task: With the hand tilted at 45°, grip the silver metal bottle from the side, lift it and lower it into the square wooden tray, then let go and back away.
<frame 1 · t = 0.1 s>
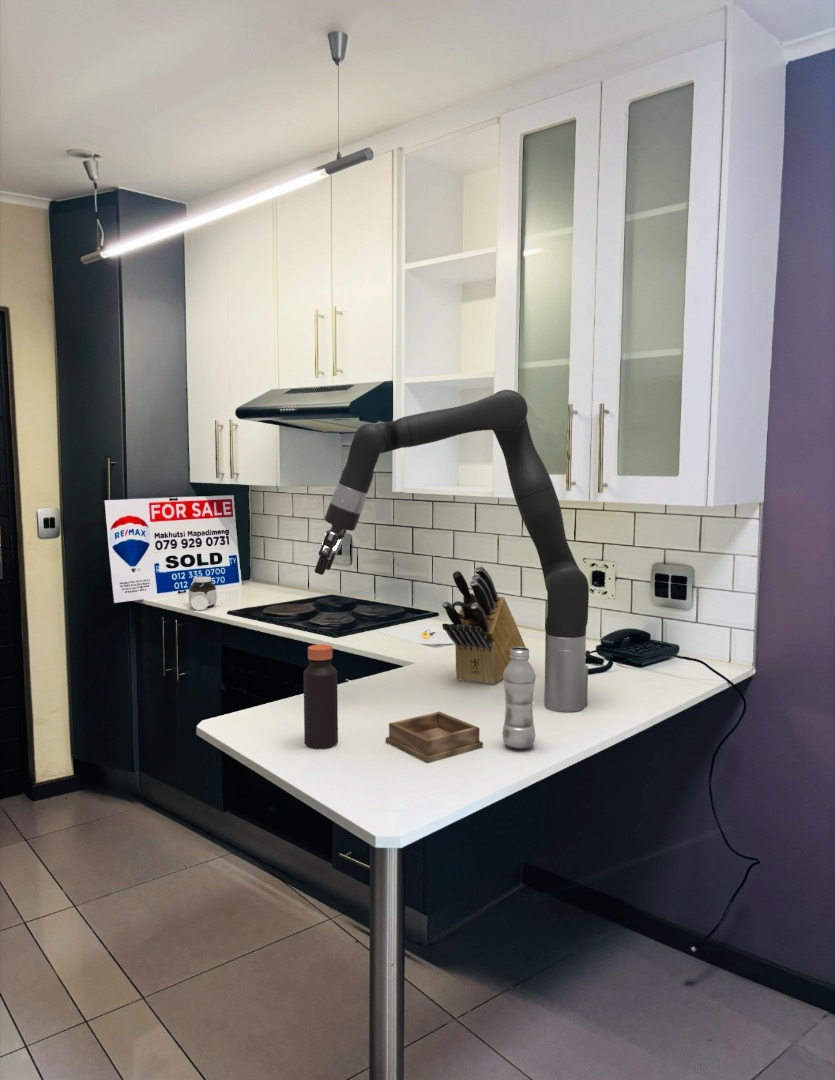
hand: (322, 571, 188), 31 cm above the counter, tool tilted 20°, fingers open, 8 cm apart
spread jar: (202, 608, 312), on the counter
square wooden tray: (433, 744, 163), on the counter
vinegar: (321, 744, 163), on the counter
knife block: (486, 676, 215), on the counter
silver metal bottle: (518, 747, 162), on the counter
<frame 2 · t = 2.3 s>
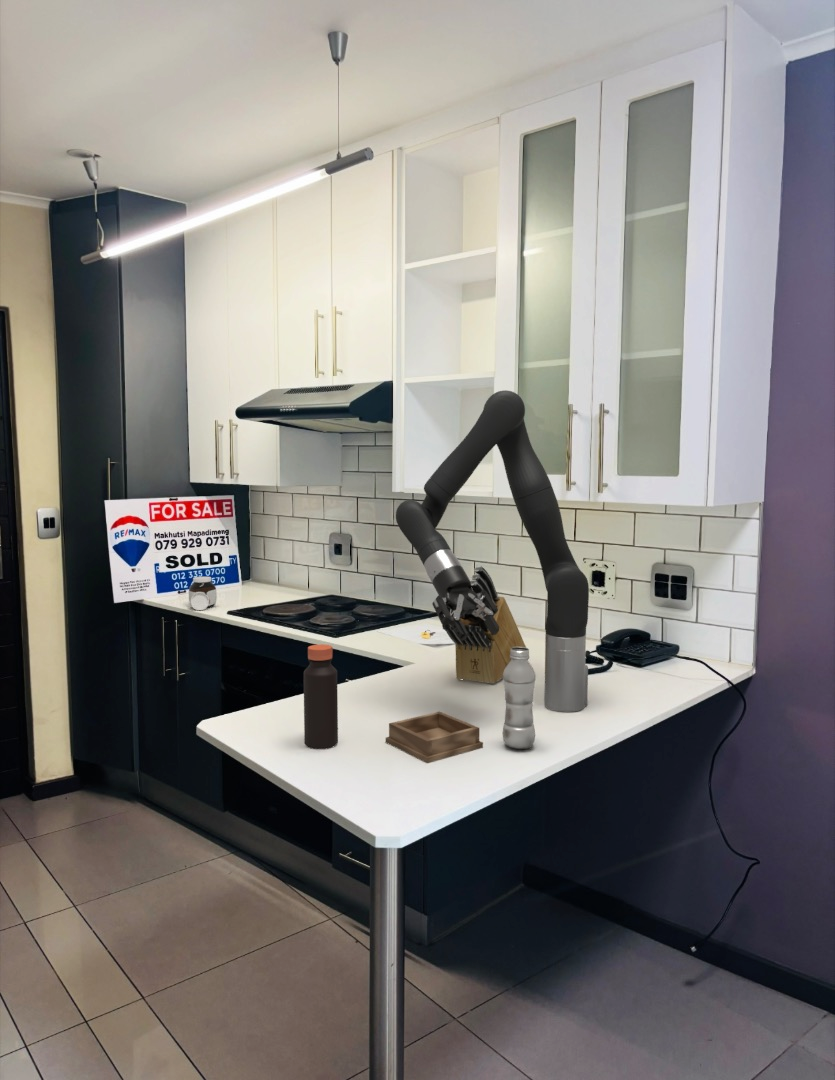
hand: (481, 635, 169), 21 cm above the counter, tool tilted 45°, fingers open, 8 cm apart
nothing on the counter moved.
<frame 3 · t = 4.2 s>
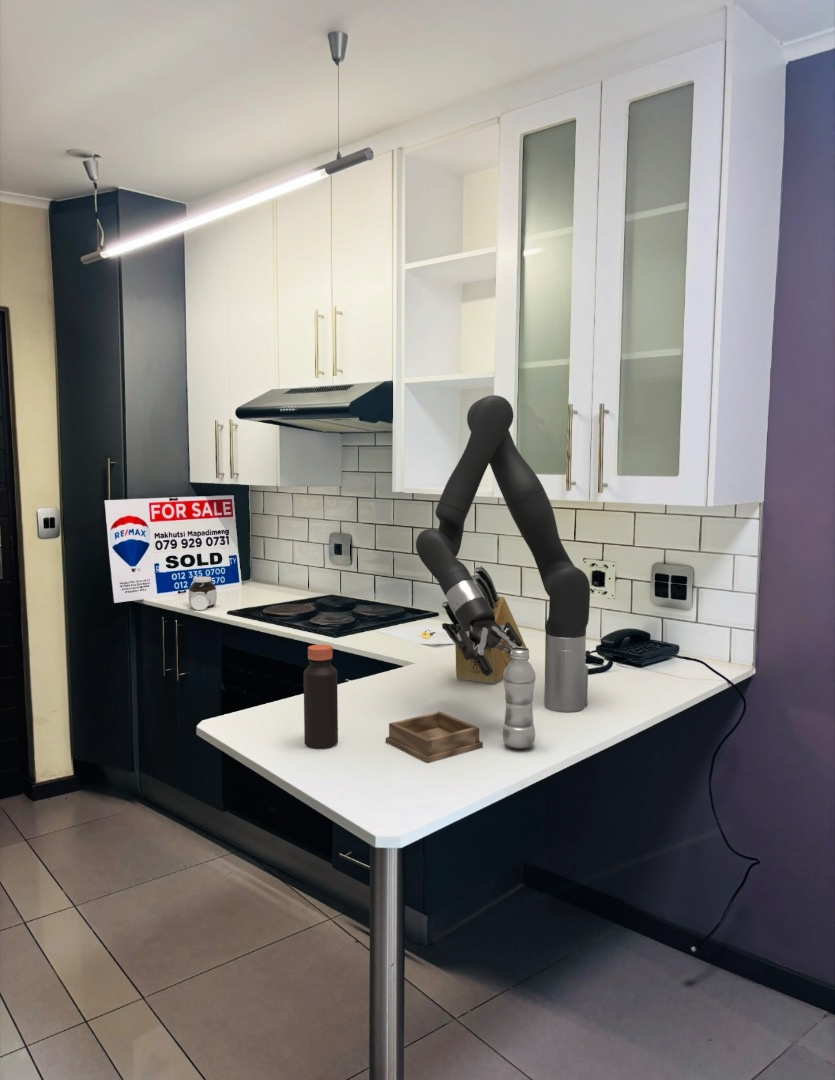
hand: (505, 670, 163), 15 cm above the counter, tool tilted 45°, fingers open, 8 cm apart
nothing on the counter moved.
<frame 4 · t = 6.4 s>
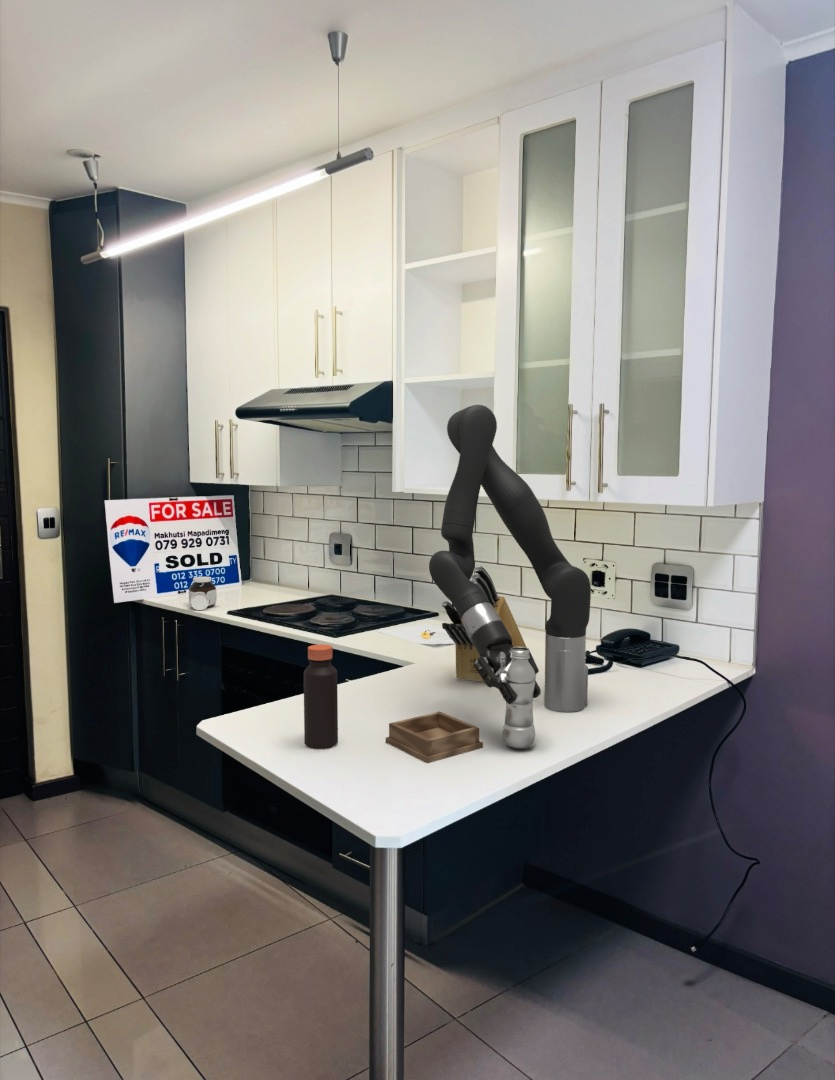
hand: (525, 698, 159), 10 cm above the counter, tool tilted 45°, fingers closed on silver metal bottle, 6 cm apart
silver metal bottle: (518, 747, 162), on the counter, touching gripper
everything else where it was.
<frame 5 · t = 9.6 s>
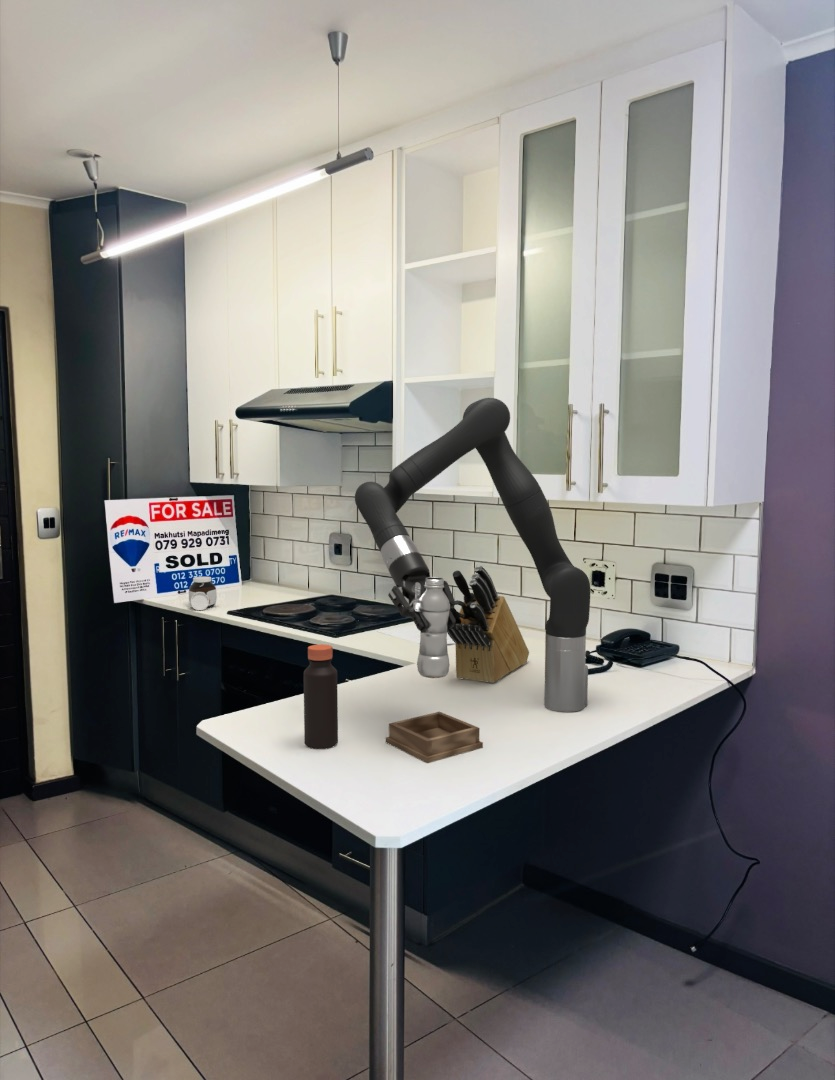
hand: (439, 628, 159), 24 cm above the counter, tool tilted 45°, fingers closed on silver metal bottle, 6 cm apart
silver metal bottle: (432, 678, 161), point 14 cm above the counter, touching gripper
when the fingers open (13 cm above the counter, at t = 12.7 s): silver metal bottle drops 1 cm, resting on square wooden tray.
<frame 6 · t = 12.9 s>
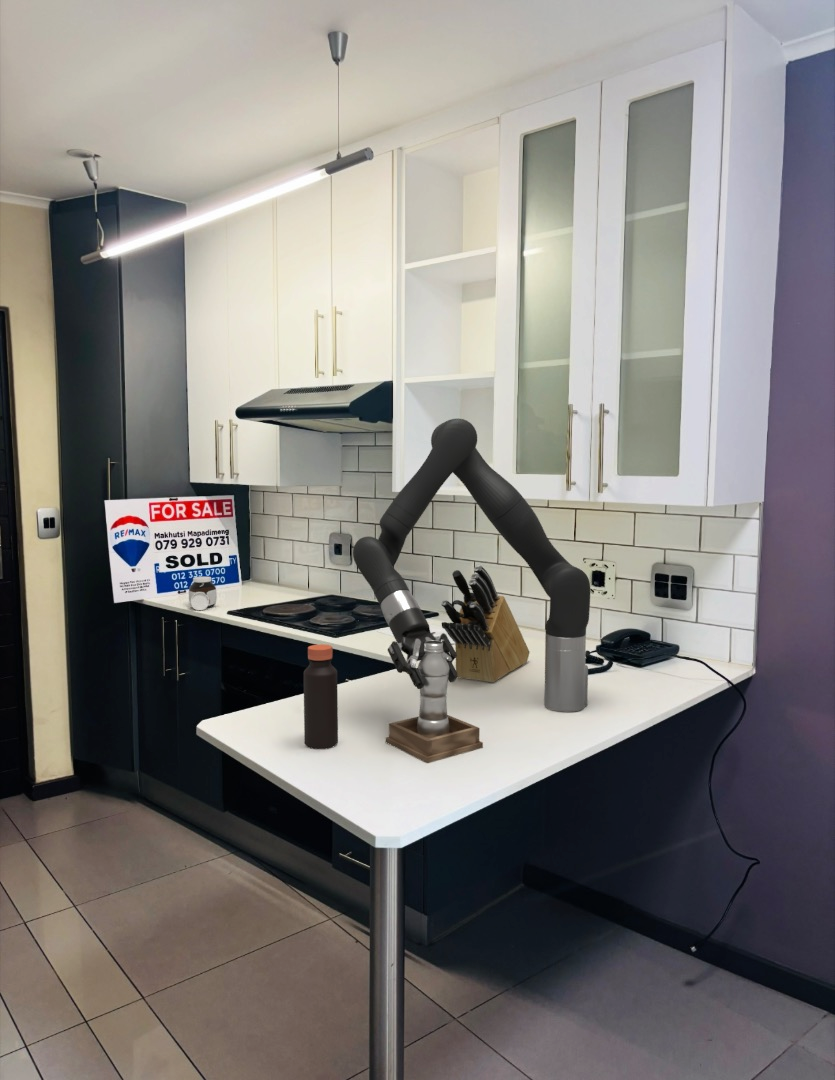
hand: (438, 683, 160), 13 cm above the counter, tool tilted 45°, fingers open, 7 cm apart
silver metal bottle: (433, 740, 163), point 1 cm above the counter, touching square wooden tray
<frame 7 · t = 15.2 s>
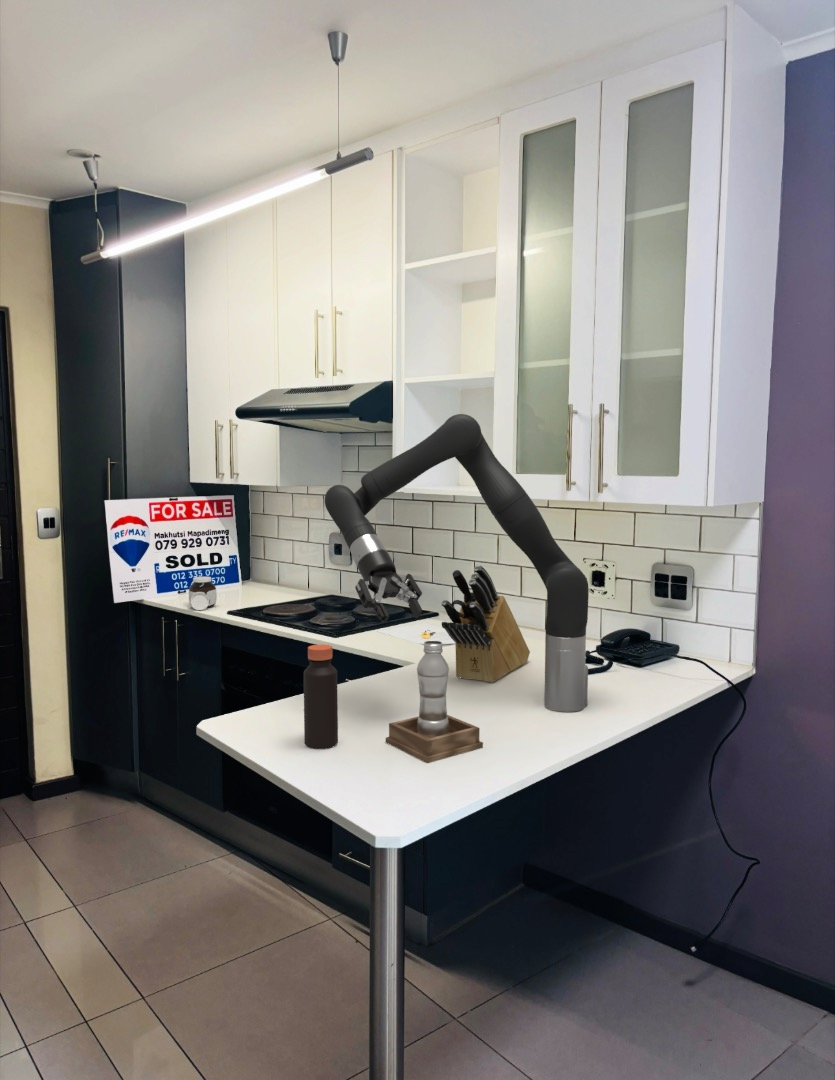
hand: (402, 618, 171), 24 cm above the counter, tool tilted 45°, fingers open, 8 cm apart
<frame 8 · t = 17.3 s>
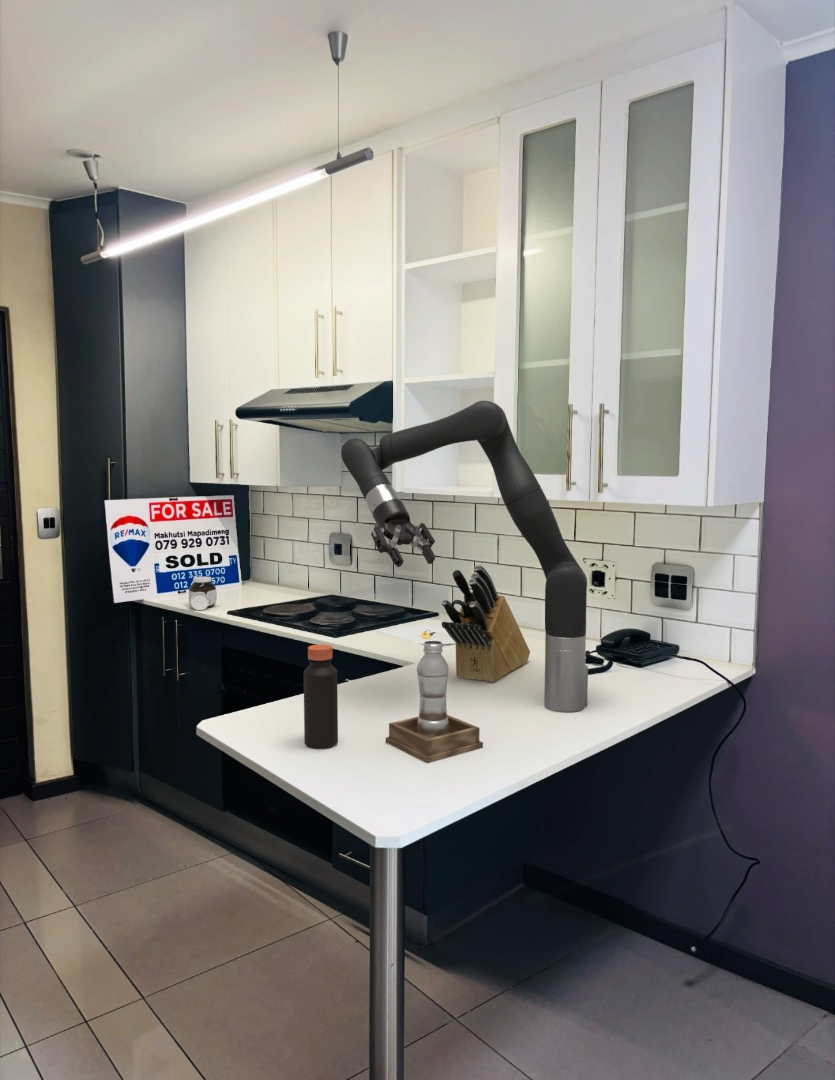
hand: (416, 563, 177), 35 cm above the counter, tool tilted 45°, fingers open, 8 cm apart
at the end: silver metal bottle 0.2 cm off-centre on the square wooden tray, point 0.8 cm above the square wooden tray's base; silver metal bottle tilted 0°; the gripper is holding nothing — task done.
